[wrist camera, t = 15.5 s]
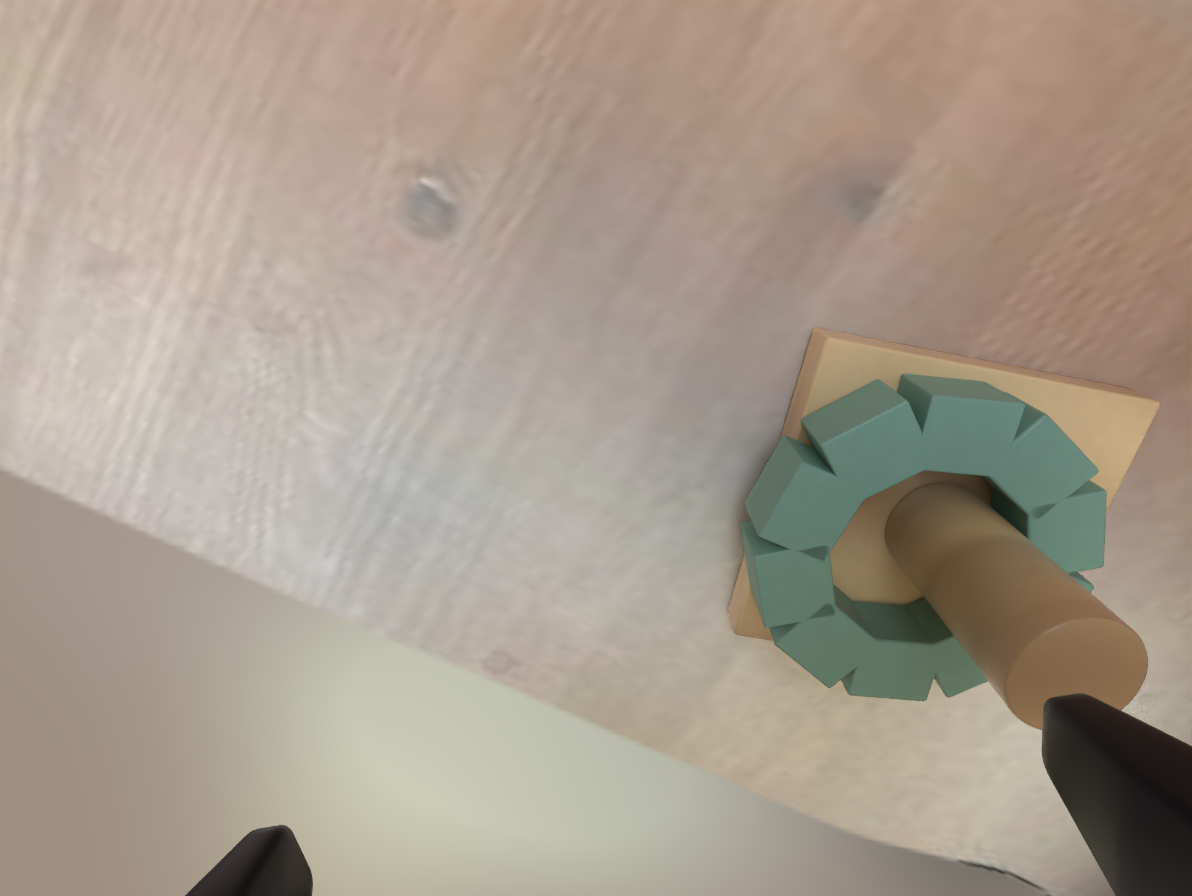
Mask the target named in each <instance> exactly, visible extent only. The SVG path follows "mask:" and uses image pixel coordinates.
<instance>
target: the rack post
mask: <svg viewBox="0 0 1192 896" xmlns="http://www.w3.org/2000/svg"><path fill="white" fill-rule="evenodd" d="M902 374H914V375H924V376H934V377H945V378H955V379H965V380H975V381H985V382H986V383H988V384H990V385H992V386H994V387H995V388H997V389H999V390H1001V391H1002V392H1007V393H1009V394H1011V395H1013V396H1015V397H1017V398H1018V399H1020V400H1022V401H1024V402H1026V403H1027V404H1029V405H1031V406H1033V407H1035V408H1036V409H1038V410H1040V411H1042V412H1044V413H1045V414H1047V415H1048V416H1049V417H1050V418H1051V419H1052V420H1053V421H1054V422H1055V423H1056V424H1057V425H1058V426H1059V427H1060V429H1061V430H1062V431H1063V432H1064V433H1065V434H1066V435H1067V436H1068V437H1069V438H1070V439H1071V440H1072V441H1073V442H1074V443H1075V444H1076V446H1077V447H1078V448H1079V449H1080V450H1081V451H1082V452H1083V453H1084V454H1085V455H1086V456H1087V457H1088V458H1089V459H1090V460H1091V462H1092V463H1093V464H1094V465H1095V466H1096V467H1097V468H1098V470H1099V472H1098V473H1097V474H1096V475H1095V476H1093V477H1092V478H1091V479H1090V480H1091V481H1092V482H1094V483H1095V484H1097V485H1098V486H1100V487H1101V488H1103V489H1105V490H1106V492H1107V502H1106V513H1107V511H1108V509H1109V507H1110V505H1111V503H1112V501H1113V499H1114V497H1115V495H1116V493H1117V491H1118V489H1119V487H1120V485H1121V483H1122V481H1123V479H1124V477H1125V475H1126V473H1127V471H1128V469H1129V467H1130V465H1131V463H1132V461H1133V459H1134V457H1135V455H1136V453H1137V451H1138V449H1139V447H1140V445H1141V443H1142V441H1143V439H1144V437H1145V435H1146V433H1147V431H1148V429H1149V427H1150V425H1151V423H1152V421H1153V419H1154V417H1155V415H1156V413H1157V411H1158V409H1159V407H1160V404H1161V403H1160V402H1159V401H1158V400H1155V399H1153V398H1151V397H1148V396H1146V395H1143V394H1141V393H1139V392H1136V391H1134V390H1132V389H1129V388H1124V387H1119V386H1114V385H1108V384H1103V383H1098V382H1093V381H1088V380H1083V379H1078V378H1073V377H1067V376H1062V375H1057V374H1052V373H1047V372H1042V371H1037V370H1032V369H1026V368H1021V367H1016V366H1011V365H1006V364H1001V363H996V362H991V361H985V360H980V359H975V358H970V357H965V356H960V355H955V354H950V353H944V352H939V351H934V350H929V349H924V348H919V347H914V346H909V345H903V344H898V343H893V342H888V341H883V340H878V339H873V338H868V337H862V336H857V335H852V334H847V333H842V332H837V331H832V330H827V329H821V328H814V330H813V332H812V335H811V339H810V342H809V345H808V348H807V352H806V355H805V358H804V362H803V365H802V368H801V371H800V375H799V378H798V381H797V384H796V388H795V391H794V394H793V398H792V401H791V404H790V407H789V411H788V414H787V417H786V420H785V424H784V427H783V430H782V433H781V437H780V439H781V438H782V436H783V435H786V436H788V437H790V438H793V439H795V440H797V441H800V442H802V443H804V444H806V445H809V446H811V447H813V445H812V443H811V441H810V439H809V437H808V435H807V433H806V431H805V429H804V427H803V425H802V423H801V419H802V418H803V417H805V416H807V415H809V414H811V413H813V412H815V411H817V410H819V409H821V408H823V407H825V406H826V405H828V404H830V403H832V402H834V401H836V400H838V399H840V398H842V397H844V396H846V395H848V394H850V393H851V392H853V391H855V390H857V389H859V388H861V387H863V386H865V385H867V384H869V383H871V382H873V381H875V380H877V379H880V380H881V381H882V382H883V383H885V384H886V385H887V386H889V387H890V388H891V389H893V390H894V391H895V392H897V390H898V386H899V382H900V378H901V375H902ZM779 441H780V440H779ZM813 448H814V447H813ZM830 559H831V568H832V577H833V584H834V585H835V586H836V587H838V588H839V589H840V590H841V591H842V592H843V593H844V594H846V595H847V596H848V597H849V598H850V599H851V600H853V601H860V602H872V603H884V604H895V605H907V604H909V603H912V602H914V601H916V600H918V599H920V598H923V597H925V599H926V600H927V601H928V603H929V604H930V605H931V606H932V608H933V609H934V610H935V612H936V613H937V614H938V616H939V617H940V618H941V620H942V621H943V622H944V624H945V625H946V626H947V627H948V629H949V630H950V631H951V633H952V634H953V635H954V637H955V638H956V639H957V641H958V642H959V643H960V645H961V646H962V647H963V648H964V650H965V651H966V652H967V654H968V655H969V656H970V658H971V659H972V660H973V662H974V663H975V664H976V666H977V667H978V668H979V670H980V671H981V672H982V673H983V675H984V676H985V677H986V679H987V680H988V681H989V683H990V684H991V685H992V687H993V688H994V689H995V691H996V692H997V693H998V694H999V696H1000V697H1001V698H1002V700H1003V701H1004V702H1005V704H1006V705H1007V706H1008V708H1009V709H1010V710H1011V712H1012V713H1013V714H1014V715H1015V716H1016V717H1017V718H1018V719H1020V720H1021V721H1023V722H1024V723H1026V724H1028V725H1030V726H1032V727H1035V728H1037V729H1040V730H1042V727H1043V708H1044V704H1045V702H1046V701H1047V699H1049V698H1052V697H1057V696H1063V695H1070V694H1076V693H1084V694H1087V695H1090V696H1093V697H1095V698H1097V699H1099V700H1101V701H1103V702H1105V703H1107V704H1109V705H1111V706H1113V707H1115V708H1117V709H1119V710H1122V709H1123V708H1124V707H1125V706H1126V705H1127V704H1128V703H1129V702H1130V701H1131V700H1132V699H1133V698H1134V697H1135V696H1136V694H1137V693H1138V691H1139V690H1140V688H1141V686H1142V684H1143V682H1144V680H1145V677H1146V674H1147V668H1148V657H1147V652H1146V649H1145V646H1144V643H1143V642H1142V640H1141V638H1140V637H1139V636H1138V634H1137V633H1136V632H1135V631H1134V630H1133V629H1131V628H1130V627H1129V626H1128V625H1127V624H1126V623H1125V622H1123V621H1122V620H1121V619H1120V618H1119V617H1118V616H1116V615H1115V614H1114V613H1113V612H1112V611H1111V610H1110V609H1108V608H1107V607H1106V606H1105V605H1104V604H1103V603H1101V602H1100V601H1099V600H1098V599H1097V598H1096V597H1094V596H1093V595H1092V594H1091V593H1090V592H1089V591H1088V590H1086V589H1085V588H1084V587H1083V586H1082V585H1081V584H1079V583H1078V582H1077V581H1076V580H1075V579H1074V578H1073V577H1071V576H1070V575H1069V574H1068V573H1067V572H1066V571H1064V570H1063V569H1062V568H1061V567H1060V566H1059V565H1058V564H1056V563H1055V562H1054V561H1053V560H1052V559H1051V558H1049V557H1048V556H1047V555H1046V554H1045V553H1044V552H1043V551H1041V550H1040V549H1039V548H1038V547H1037V546H1036V545H1034V544H1033V543H1032V542H1031V541H1030V540H1029V539H1028V538H1026V537H1025V536H1024V535H1023V534H1022V533H1021V532H1019V531H1018V530H1017V529H1016V528H1015V527H1014V526H1013V525H1011V524H1010V523H1009V522H1008V521H1007V520H1006V519H1004V518H1003V517H1002V516H1001V515H1000V514H999V513H997V512H996V511H995V510H994V509H993V508H992V507H991V486H990V485H989V484H988V483H987V482H986V481H985V480H984V479H983V478H982V477H981V476H976V475H966V474H955V473H944V472H934V471H922V472H920V473H918V474H916V475H914V476H912V477H910V478H908V479H906V480H904V481H902V482H900V483H898V484H896V485H894V486H892V487H890V488H888V489H886V490H884V491H882V492H879V493H877V494H875V495H873V496H871V497H869V498H867V499H865V500H863V502H862V503H861V505H860V507H859V508H858V510H857V511H856V513H855V514H854V516H853V517H852V519H851V521H850V522H849V524H848V525H847V527H846V528H845V530H844V532H843V533H842V535H841V536H840V538H839V539H838V541H837V543H836V544H835V546H834V547H833V549H832V550H831V552H830ZM728 614H729V618H730V621H731V624H732V628H733V631H734V633H735V634H736V635H742V636H748V637H754V638H760V639H766V640H773V638H772V636H771V633H770V630H769V628H765V627H764V625H763V622H762V619H761V617H760V614H759V611H758V608H757V606H756V603H755V600H754V598H753V595H752V592H751V589H750V584H749V578H748V571H747V565H746V559H745V554H744V558H743V561H742V564H741V568H740V571H739V574H738V577H737V581H736V584H735V587H734V590H733V594H732V597H731V600H730V604H729V607H728Z"/></svg>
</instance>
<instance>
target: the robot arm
mask: <svg viewBox="0 0 1192 896" xmlns="http://www.w3.org/2000/svg"><path fill="white" fill-rule="evenodd" d="M1042 758H1043V762H1044V765H1045V768H1046V771H1047V773H1048V775H1049V777H1050V779H1051V780H1052V782H1053V784H1054V786H1055V788H1056V789H1057V791H1058V793H1059V795H1060V797H1061V798H1062V800H1063V802H1064V804H1065V806H1066V807H1067V809H1068V811H1069V813H1070V814H1071V816H1072V818H1073V820H1074V822H1075V823H1076V825H1077V827H1078V829H1079V831H1080V832H1081V834H1082V836H1083V838H1084V840H1085V841H1086V843H1087V845H1088V847H1089V849H1090V850H1091V852H1092V854H1093V856H1094V857H1095V859H1096V861H1097V863H1098V865H1099V866H1100V868H1101V870H1102V872H1103V874H1104V875H1105V877H1106V879H1107V881H1108V883H1109V884H1110V886H1111V888H1112V890H1113V891H1114V893H1115V895H1116V896H1192V746H1190V745H1188V744H1186V743H1184V742H1182V741H1180V740H1178V739H1176V738H1174V737H1172V736H1170V735H1168V734H1166V733H1164V732H1162V731H1160V730H1158V729H1156V728H1154V727H1152V726H1150V725H1148V724H1146V723H1144V722H1142V721H1140V720H1138V719H1136V718H1134V717H1132V716H1130V715H1128V714H1126V713H1125V712H1123V711H1121V710H1119V709H1117V708H1115V707H1113V706H1111V705H1109V704H1107V703H1105V702H1103V701H1101V700H1099V699H1097V698H1095V697H1093V696H1090V695H1087V694H1084V693H1076V694H1070V695H1063V696H1057V697H1052V698H1049V699H1047V701H1046V702H1045V704H1044V708H1043V727H1042ZM312 888H313V881H312V874H311V870H310V868H309V866H308V863H307V861H306V859H305V857H304V855H303V853H302V851H301V849H300V847H299V844H298V843H297V840H296V838H295V836H294V834H293V832H292V830H291V829H290V828H288V827H287V826H285V825H278V826H272V827H266V828H260V829H256V830H253V831H252V832H250V833H249V834H247V835H246V836H245V837H244V838H243V839H242V840H241V841H240V842H239V843H238V844H237V845H236V846H235V847H234V848H233V849H232V850H231V851H230V852H229V853H228V854H227V855H226V856H225V857H224V858H223V859H222V860H221V861H220V862H219V863H218V864H217V865H216V866H215V867H214V868H213V869H212V870H211V871H210V872H209V873H208V874H207V875H206V876H205V877H204V878H203V879H202V880H201V881H199V882H198V883H197V884H196V886H194V887H193V888H192V889H191V890H190V891H189V892H188V893H187V894H186V895H185V896H312Z"/></svg>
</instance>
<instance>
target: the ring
mask: <svg viewBox="0 0 1192 896" xmlns="http://www.w3.org/2000/svg"><path fill="white" fill-rule="evenodd" d="M801 423H802V425H803V427H804V429H805V431H806V433H807V435H808V437H809V439H810V441H811V443H812V445H813V447H814V448H813V447H811V446H809V445H806V444H804V443H802V442H800V441H797V440H795V439H793V438H790V437H788V436H786V435H783V436H782V438H781V439H780V441H779V443H778V445H777V446H776V448H775V450H774V452H773V453H772V455H771V457H770V459H769V460H768V462H767V464H766V466H765V467H764V469H763V471H762V473H761V474H760V476H759V478H758V480H757V481H756V483H755V485H754V487H753V488H752V490H751V492H750V494H749V495H748V497H747V499H746V501H745V502H744V505H745V507H746V510H747V512H748V514H749V516H750V519H751V521H747V522H742V523H740V528H741V534H742V540H743V546H744V553H745V559H746V565H747V571H748V578H749V584H750V589H751V592H752V595H753V598H754V600H755V603H756V606H757V608H758V611H759V614H760V617H761V619H762V622H763V625H764V627H765V628H769V630H770V633H771V636H772V638H773V641H774V643H775V645H776V646H777V647H779V648H780V649H781V650H782V651H784V652H785V653H786V654H787V655H789V656H790V657H791V658H792V659H793V660H795V661H796V662H797V663H798V664H800V665H801V666H802V667H803V668H805V669H806V670H807V671H808V672H810V673H811V674H812V675H813V676H815V677H816V678H817V679H818V680H819V681H821V682H822V683H823V684H824V685H826V686H827V687H828V688H831V687H832V686H833V685H835V684H836V683H837V682H838V681H840V680H842V682H843V684H844V687H845V689H846V691H847V693H848V694H849V695H853V696H866V697H878V698H890V699H903V700H915V701H925V700H926V699H927V696H928V693H929V690H930V687H931V684H932V681H933V678H934V679H935V680H936V682H937V683H938V685H939V686H940V688H941V689H942V691H943V692H944V694H945V695H946V696H947V697H952V696H954V695H956V694H959V693H961V692H963V691H966V690H968V689H971V688H973V687H975V686H978V685H980V684H982V683H985V682H987V681H988V680H987V679H986V677H985V676H984V675H983V673H982V672H981V671H980V670H979V668H978V667H977V666H976V664H975V663H974V662H973V660H972V659H971V658H970V656H969V655H968V654H967V652H966V651H965V650H964V648H963V647H962V646H961V645H960V643H959V642H958V641H957V639H956V638H955V637H954V635H953V634H952V633H951V631H950V630H949V629H948V627H947V626H946V625H945V624H944V622H943V621H942V620H941V618H940V617H939V616H938V614H937V613H936V612H935V610H934V609H933V608H932V606H931V605H930V604H929V603H928V601H927V600H926V599H925V597H923V598H920V599H918V600H916V601H914V602H912V603H909V604H907V605H895V604H884V603H872V602H860V601H853V600H851V599H850V598H849V597H848V596H847V595H846V594H844V593H843V592H842V591H841V590H840V589H839V588H838V587H836V586H835V585H834V584H833V577H832V568H831V559H830V552H831V550H832V549H833V547H834V546H835V544H836V543H837V541H838V539H839V538H840V536H841V535H842V533H843V532H844V530H845V528H846V527H847V525H848V524H849V522H850V521H851V519H852V517H853V516H854V514H855V513H856V511H857V510H858V508H859V507H860V505H861V503H862V502H863V500H865V499H867V498H869V497H871V496H873V495H875V494H877V493H879V492H882V491H884V490H886V489H888V488H890V487H892V486H894V485H896V484H898V483H900V482H902V481H904V480H906V479H908V478H910V477H912V476H914V475H916V474H918V473H920V472H922V471H934V472H944V473H955V474H966V475H976V476H981V477H982V478H983V479H984V480H985V481H986V482H987V483H988V484H989V485H990V486H991V507H992V508H993V509H994V510H995V511H996V512H997V513H999V514H1000V515H1001V516H1002V517H1003V518H1004V519H1006V520H1007V521H1008V522H1009V523H1010V524H1011V525H1013V526H1014V527H1015V528H1016V529H1017V530H1018V531H1019V532H1021V533H1022V534H1023V535H1024V536H1025V537H1026V538H1028V539H1029V540H1030V541H1031V542H1032V543H1033V544H1034V545H1036V546H1037V547H1038V548H1039V549H1040V550H1041V551H1043V552H1044V553H1045V554H1046V555H1047V556H1048V557H1049V558H1051V559H1052V560H1053V561H1054V562H1055V563H1056V564H1058V565H1059V566H1060V567H1061V568H1062V569H1063V570H1064V571H1066V572H1067V573H1068V574H1069V575H1070V576H1071V577H1073V578H1074V579H1075V580H1076V581H1077V582H1078V583H1079V584H1081V585H1082V586H1083V587H1084V588H1085V589H1086V590H1088V591H1089V592H1090V593H1091V591H1092V590H1093V589H1094V586H1093V585H1092V584H1091V583H1090V582H1089V581H1088V580H1086V579H1085V578H1084V577H1083V576H1082V575H1081V574H1079V573H1078V571H1084V570H1090V569H1095V568H1101V567H1103V565H1104V544H1105V523H1106V502H1107V492H1106V490H1105V489H1103V488H1101V487H1100V486H1098V485H1097V484H1095V483H1094V482H1092V481H1091V480H1090V479H1091V478H1092V477H1093V476H1095V475H1096V474H1097V473H1098V472H1099V470H1098V468H1097V467H1096V466H1095V465H1094V464H1093V463H1092V462H1091V460H1090V459H1089V458H1088V457H1087V456H1086V455H1085V454H1084V453H1083V452H1082V451H1081V450H1080V449H1079V448H1078V447H1077V446H1076V444H1075V443H1074V442H1073V441H1072V440H1071V439H1070V438H1069V437H1068V436H1067V435H1066V434H1065V433H1064V432H1063V431H1062V430H1061V429H1060V427H1059V426H1058V425H1057V424H1056V423H1055V422H1054V421H1053V420H1052V419H1051V418H1050V417H1049V416H1048V415H1047V414H1045V413H1044V412H1042V411H1040V410H1038V409H1036V408H1035V407H1033V406H1031V405H1029V404H1027V403H1026V402H1024V401H1022V400H1020V399H1018V398H1017V397H1015V396H1013V395H1011V394H1009V393H1007V392H1002V391H1001V390H999V389H997V388H995V387H994V386H992V385H990V384H988V383H986V382H985V381H975V380H965V379H955V378H945V377H934V376H924V375H914V374H902V375H901V378H900V382H899V386H898V390H897V392H895V391H894V390H893V389H891V388H890V387H889V386H887V385H886V384H885V383H883V382H882V381H881V380H880V379H877V380H875V381H873V382H871V383H869V384H867V385H865V386H863V387H861V388H859V389H857V390H855V391H853V392H851V393H850V394H848V395H846V396H844V397H842V398H840V399H838V400H836V401H834V402H832V403H830V404H828V405H826V406H825V407H823V408H821V409H819V410H817V411H815V412H813V413H811V414H809V415H807V416H805V417H803V418H802V419H801Z"/></svg>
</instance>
